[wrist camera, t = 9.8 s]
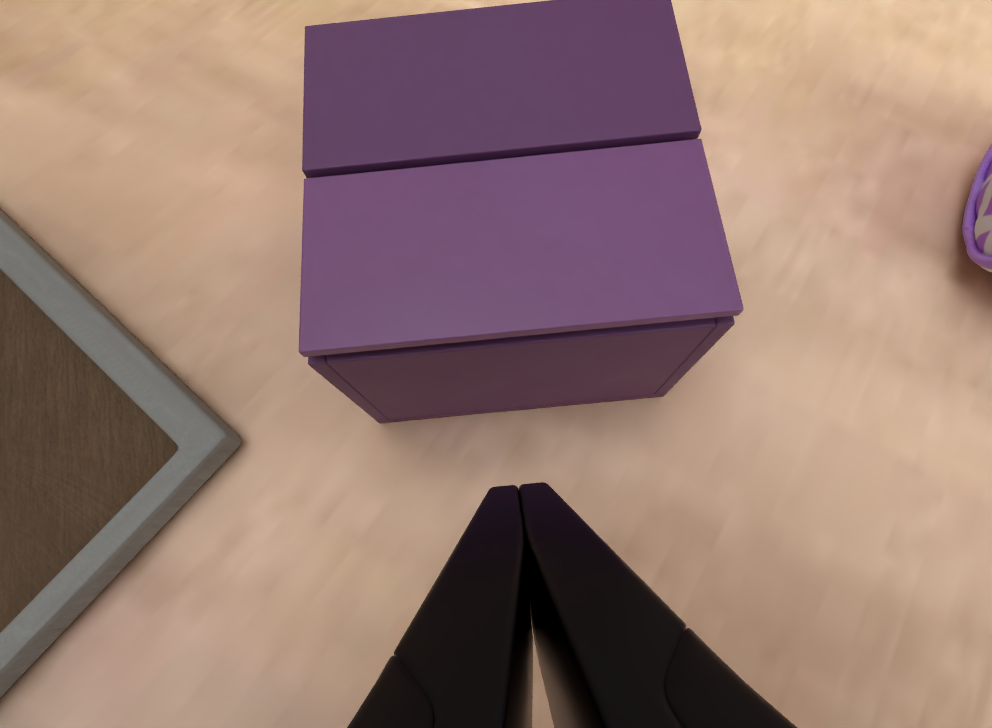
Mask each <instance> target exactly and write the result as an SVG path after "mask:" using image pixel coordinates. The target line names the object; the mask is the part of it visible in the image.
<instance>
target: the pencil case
mask: <svg viewBox="0 0 992 728" xmlns="http://www.w3.org/2000/svg"><path fill="white" fill-rule="evenodd" d="M962 231H963V237H964V242H965V244H966V251H967V253H968V255H969V258H970V259H971V260H972V261H973V262H974V263H976V264H978V265H979V266H980V267H982V268H983V269H985V270H987V271H989V272H992V144H991V146H990V147H989V149H988V151H987V152H986V154H985V156H984V158H983V159H982V161H981V163H980V165H979V168H978V170H977V173H976V175H975V178H974V180H973V183H972V187H971V190H970V194H969V199H968V203H967V205H966V206H965V212H964V218H963V224H962Z"/></svg>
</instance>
